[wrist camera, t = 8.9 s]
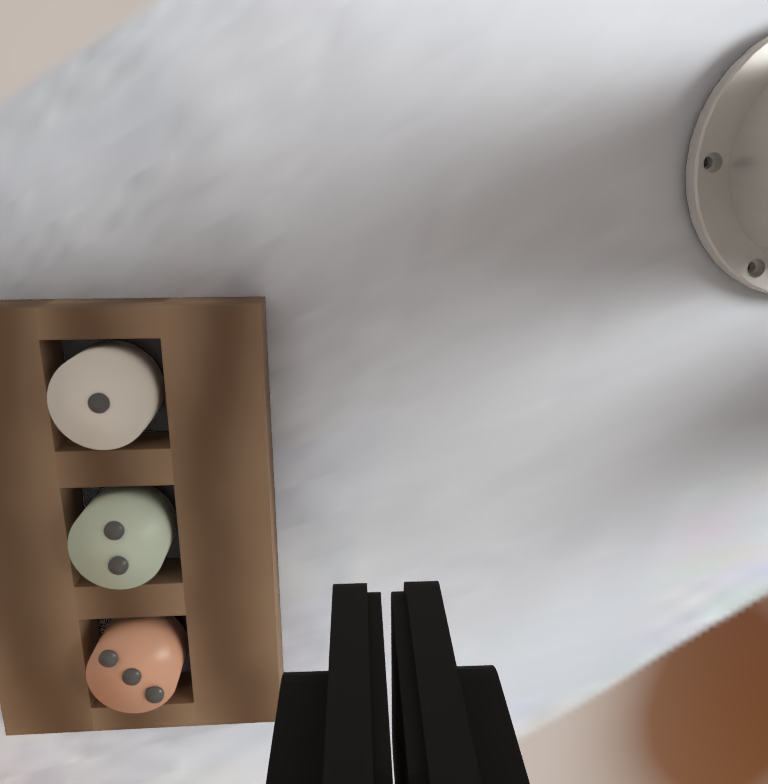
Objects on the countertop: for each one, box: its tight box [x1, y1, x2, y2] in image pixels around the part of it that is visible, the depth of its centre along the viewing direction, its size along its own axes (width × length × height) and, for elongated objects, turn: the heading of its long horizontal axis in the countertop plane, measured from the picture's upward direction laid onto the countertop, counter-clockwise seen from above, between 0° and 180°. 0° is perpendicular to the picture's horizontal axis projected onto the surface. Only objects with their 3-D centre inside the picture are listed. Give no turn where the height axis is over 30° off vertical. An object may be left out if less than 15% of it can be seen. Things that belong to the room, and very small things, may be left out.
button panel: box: [0, 297, 283, 735], centre depth 35 cm, size 14×22×2 cm, turn 0°
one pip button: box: [47, 341, 165, 450], centre depth 32 cm, size 4×4×3 cm
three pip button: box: [86, 616, 188, 713], centre depth 36 cm, size 4×4×3 cm
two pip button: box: [67, 486, 177, 590], centre depth 34 cm, size 4×4×3 cm
